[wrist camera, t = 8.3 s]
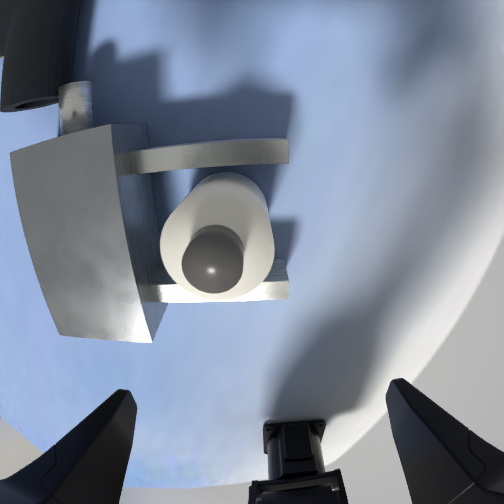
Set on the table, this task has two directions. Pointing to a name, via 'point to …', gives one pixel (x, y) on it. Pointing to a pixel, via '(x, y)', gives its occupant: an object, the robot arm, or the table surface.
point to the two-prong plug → (114, 220)
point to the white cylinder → (219, 238)
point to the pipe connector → (36, 51)
